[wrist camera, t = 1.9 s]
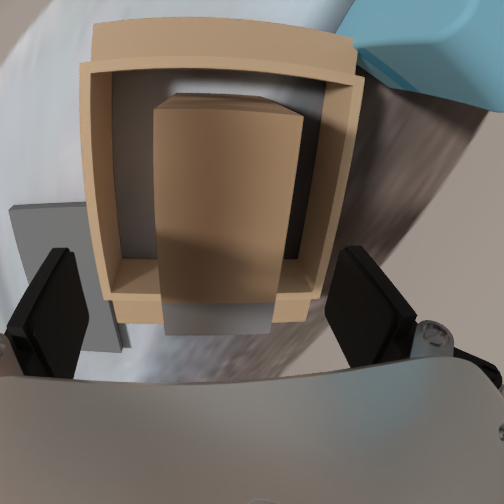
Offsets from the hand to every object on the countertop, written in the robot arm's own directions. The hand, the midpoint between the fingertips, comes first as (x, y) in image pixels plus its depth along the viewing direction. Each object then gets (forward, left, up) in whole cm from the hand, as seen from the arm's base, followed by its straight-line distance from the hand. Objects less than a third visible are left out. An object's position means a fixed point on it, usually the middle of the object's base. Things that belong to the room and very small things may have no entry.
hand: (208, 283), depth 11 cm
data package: (-11, -14, -11) cm, 21 cm away
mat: (+11, +9, -11) cm, 18 cm away
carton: (-1, 0, -11) cm, 11 cm away
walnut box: (-1, 0, -11) cm, 11 cm away
